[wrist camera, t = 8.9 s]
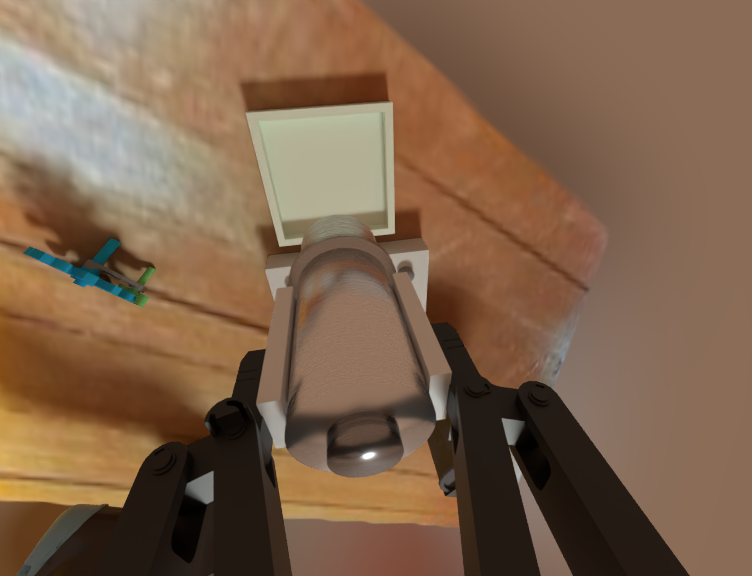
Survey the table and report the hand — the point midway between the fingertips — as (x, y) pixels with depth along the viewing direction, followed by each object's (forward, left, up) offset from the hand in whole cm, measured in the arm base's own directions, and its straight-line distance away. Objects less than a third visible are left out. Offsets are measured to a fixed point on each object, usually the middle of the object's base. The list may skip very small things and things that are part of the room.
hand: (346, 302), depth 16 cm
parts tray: (0, 0, -24) cm, 24 cm away
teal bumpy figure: (-27, -8, -24) cm, 37 cm away
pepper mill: (0, 0, -6) cm, 6 cm away
